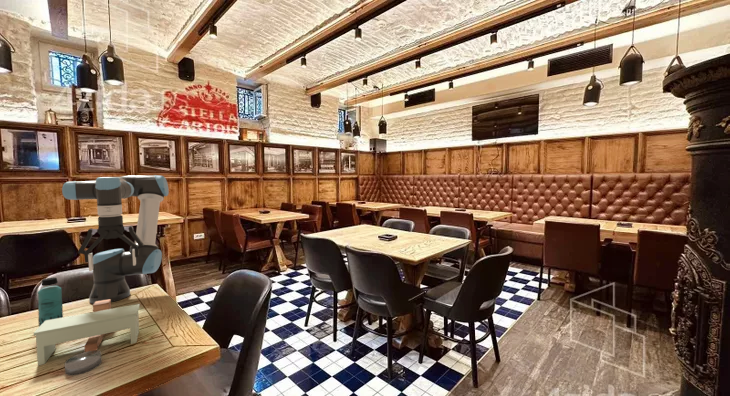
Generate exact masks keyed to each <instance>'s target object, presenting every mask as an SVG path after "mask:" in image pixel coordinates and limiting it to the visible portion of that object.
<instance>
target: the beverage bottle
mask: <svg viewBox="0 0 730 396" xmlns="http://www.w3.org/2000/svg"><path fill="white" fill-rule="evenodd" d="M56 284H58V278H57V277H48V278H43V279H42V280H41V286H43V287H42V288H41V289H40V290H39V291H37V299H38V300H37V301H38V304H37V307H38V314H37V316H38V319H37V320H38V328H39V327H40V326H41V325H42V324H43V323H44V321H45V320H51V319H57V318H62V317H64V311H63V308H64V307H63V294H62V290H63V289H62V287H61V286H59V285H56Z"/></svg>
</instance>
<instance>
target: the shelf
mask: <svg viewBox="0 0 730 396" xmlns="http://www.w3.org/2000/svg"><path fill="white" fill-rule="evenodd" d="M140 305H141V304H140V303H137V304H131V305H125V306H120V307H114V308H111V309H107V310H102V311H96V312H93V311H90V312H86V313H79V314H73V315H70V316H69V315H68V316H63V317H62V318H57V319H51V320H45V321H44V323H43V324H42V325H41V326H40V327H39V326H38V328H37V329H36V330H35V331H34V332H33V333H32V334H33V336H35V342H36V359H37V366H42V365H45V364H46V363H47V361H48V360H49V359H50V357H51V356H52V355H53V353H54V352H55V350H56V349H57V348H56V345H57V344H62V343H63V344H64V343H67V342H71V341H77V340H81V339H86V338H89V337H92V336H96V335H101V334H104V335H105V334H109V333H115V332H120V331H125V330H129V332H130V344H131V345H133V344H136V343H137V341H138V337H139V333H140V322H139V321H140V320H139V310H140Z"/></svg>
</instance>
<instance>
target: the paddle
mask: <svg viewBox="0 0 730 396" xmlns="http://www.w3.org/2000/svg"><path fill="white" fill-rule="evenodd" d="M111 303H112V302H111V299H108V300H102V301H96V302H95V303H94V304H93V303H92V312H96V311H102V310H107V309H112V304H111ZM104 337H105V334H101V335H96V336H92V337H88V339H87V340H86V343H85V344H84V352H87V351H93V350H98V351H99V347H100V345H101V343H102V341H103V339H104Z"/></svg>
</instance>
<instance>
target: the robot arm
mask: <svg viewBox="0 0 730 396" xmlns="http://www.w3.org/2000/svg"><path fill="white" fill-rule="evenodd" d="M61 193H62V196H63V197H64V198H65V200H71V201H72V200H75V201H78V200H96V209H97V216H98V218H97V222H98V226H97V227H98V228H89V229H88V230H87V235H86V237H85V239H84V241H83V242H82V243H81V245H80V247H79V249H78V251H77V254H79V255H80V254H81V255H83V256H84V262H85V263H88V271H89V272H92V276H93V277H92V278H93V279H92V280H93V286H92V288H91V292H90V294H89V297H88V300H89V303H90V304H92V305H93V304H94V303H95V302H96V301H102V300H108V299H111V303H113V302H116V301H120V300H123V299H126V298H127V297H130V295H131V289H130V287H129V284H128V283H127V280H126V276H134V275H135V276H136V275H147V274H154V273H156V272H157V271H158V269H159V267H160V265H161V263H162V259H163V257H162V255H163V253H162V250H161V249H159V246H158V245H157V244H156V240H157V239H156V238H157V231H158V222H159V221H158V220H159V215H160V214H159V213H160V206H161V203H162V202H163V201H164V199H165V197H168V196H169V193H170V191H169V184H168V181H167V179H166V177H165V176H164V175H157V174H153V175H152V174H151V175H149V174H145V175H144V174H143V175H140V174H139V175H137V174H136V175H135V174H131V175H122V176H102V177H101V176H100V177H99V176H98V177H97V178H96V179H95V180H85V181H82V180H81V181H76V180H73V181H67V182H64V183H63V185H62V188H61ZM130 197H137V199H138V200H139V202H140V203H139V204H140V205H139V210H138V217H137V218H138V219H137V225H136V232H135V229H134V226H133V225H129V226H124V219H123V215H122V214H123V204H122V202H123V201H122V200H126V199H128V198H130ZM125 231H126V232H129V234H130V235H131V237H132V238H133V240H134V241H132V240H131V239H130V238H129V237H127V236H126V235H125V234H124V232H125ZM96 233H98V234H99V235H100V236H99V237H98V238H97V239H96V240H95V241H94V242H93V243H91V245H90V246H89V247H88V248H87V245H88V244H89V242H90V241H91V239H92V237H93V236H94V235H95V234H96ZM118 238H119V239H121V240H122V241H123V242H125V243H126V244H128V246H130V247H129V251H125V249H124V248H114V249H108V250H105V251H100V252H97V253H95V254H94V255H93V252H91V251H93V249H95V247H97V246H98V244H100V242H102V241H103V239H105V240H111V239H113V240H114V239H118ZM86 249H87V250H86Z"/></svg>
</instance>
